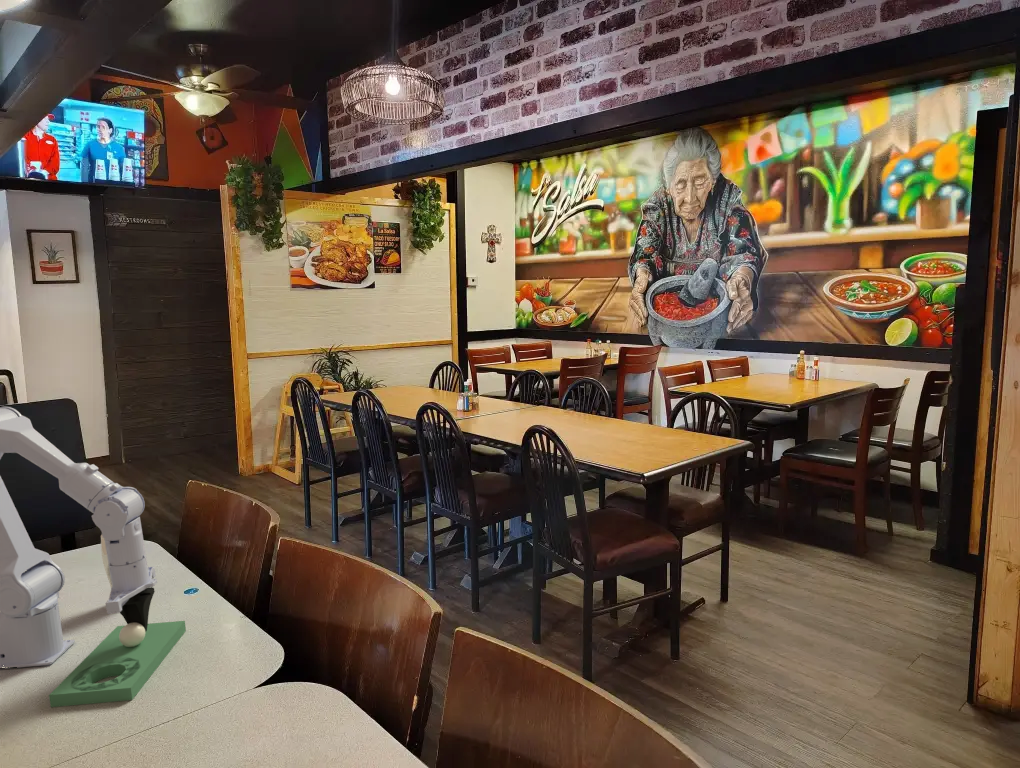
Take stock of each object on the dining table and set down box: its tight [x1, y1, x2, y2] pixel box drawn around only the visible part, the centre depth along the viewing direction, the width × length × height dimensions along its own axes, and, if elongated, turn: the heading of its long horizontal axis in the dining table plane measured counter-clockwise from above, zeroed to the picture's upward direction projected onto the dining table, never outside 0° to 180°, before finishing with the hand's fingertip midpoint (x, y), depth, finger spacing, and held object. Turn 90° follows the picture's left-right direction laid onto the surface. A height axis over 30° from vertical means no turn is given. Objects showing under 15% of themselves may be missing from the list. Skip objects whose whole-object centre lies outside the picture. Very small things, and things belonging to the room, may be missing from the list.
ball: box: [119, 622, 145, 647], centre depth 119 cm, size 4×4×4 cm
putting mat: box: [48, 620, 187, 708], centre depth 116 cm, size 12×22×2 cm, turn 5°
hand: (139, 633), depth 120 cm, fingers closed, pressing on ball
